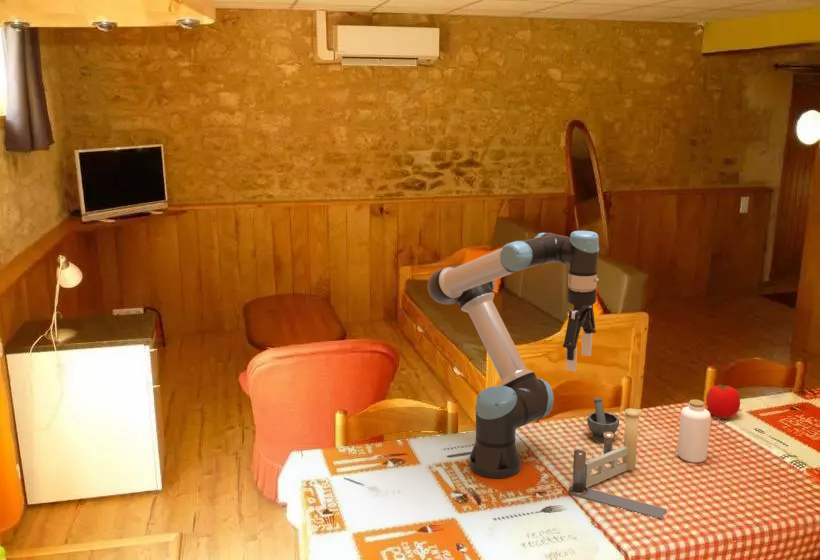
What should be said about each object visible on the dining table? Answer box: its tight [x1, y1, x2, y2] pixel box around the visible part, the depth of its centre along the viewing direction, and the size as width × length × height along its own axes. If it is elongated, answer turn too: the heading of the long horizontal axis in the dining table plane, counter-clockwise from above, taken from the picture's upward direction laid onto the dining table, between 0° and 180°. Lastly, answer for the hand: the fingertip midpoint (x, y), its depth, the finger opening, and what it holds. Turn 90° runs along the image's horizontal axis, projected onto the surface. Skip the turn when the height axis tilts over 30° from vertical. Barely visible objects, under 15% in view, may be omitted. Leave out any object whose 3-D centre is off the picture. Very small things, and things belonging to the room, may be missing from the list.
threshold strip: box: [571, 487, 667, 520], centre depth 192 cm, size 24×5×1 cm, turn 59°
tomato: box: [705, 383, 741, 419], centre depth 243 cm, size 10×11×11 cm
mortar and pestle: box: [586, 397, 620, 443], centre depth 228 cm, size 11×9×12 cm
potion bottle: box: [677, 399, 712, 464], centre depth 214 cm, size 8×8×18 cm
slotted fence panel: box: [584, 407, 641, 488], centre depth 202 cm, size 21×4×18 cm, turn 124°
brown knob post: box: [568, 449, 588, 498], centre depth 196 cm, size 5×5×12 cm
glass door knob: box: [602, 432, 615, 464], centre depth 214 cm, size 4×4×9 cm
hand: (578, 362), depth 198 cm, fingers open, 13 cm apart
